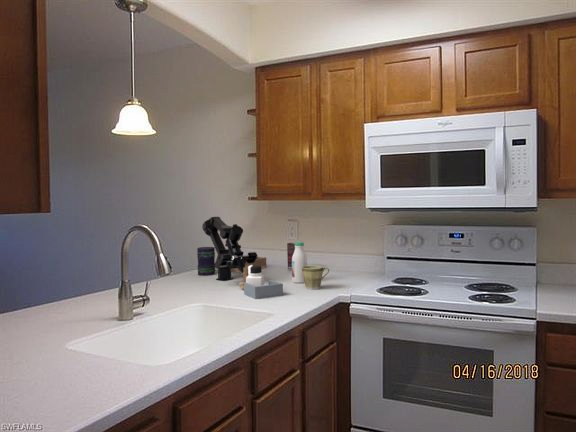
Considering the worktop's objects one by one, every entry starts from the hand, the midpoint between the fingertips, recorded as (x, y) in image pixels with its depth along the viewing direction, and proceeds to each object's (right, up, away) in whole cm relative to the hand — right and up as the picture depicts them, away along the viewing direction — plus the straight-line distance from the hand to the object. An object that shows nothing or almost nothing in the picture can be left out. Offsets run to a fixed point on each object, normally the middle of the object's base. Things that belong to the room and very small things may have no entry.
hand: (243, 272), depth 218 cm
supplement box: (+26, -5, +47) cm, 54 cm away
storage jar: (-25, -6, +38) cm, 46 cm away
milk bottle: (+27, -6, +11) cm, 30 cm away
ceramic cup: (+34, -7, -5) cm, 35 cm away
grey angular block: (+10, -8, -17) cm, 21 cm away
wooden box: (-4, -5, +54) cm, 55 cm away
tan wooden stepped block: (+2, -7, -4) cm, 8 cm away
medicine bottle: (+6, -8, -10) cm, 14 cm away
